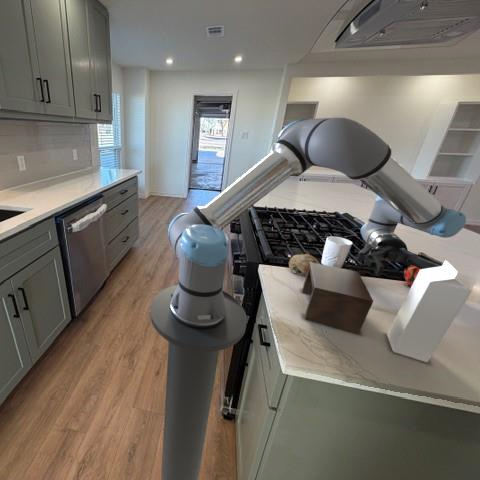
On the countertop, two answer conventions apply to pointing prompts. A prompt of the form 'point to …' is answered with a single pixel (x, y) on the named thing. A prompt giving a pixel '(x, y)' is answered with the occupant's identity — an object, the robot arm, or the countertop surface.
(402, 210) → the robot arm
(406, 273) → the dragon fruit
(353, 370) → the countertop surface
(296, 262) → the tan rounded lump
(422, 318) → the milk
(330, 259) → the white cup
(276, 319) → the countertop surface
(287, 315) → the countertop surface
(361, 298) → the dark wooden crate
